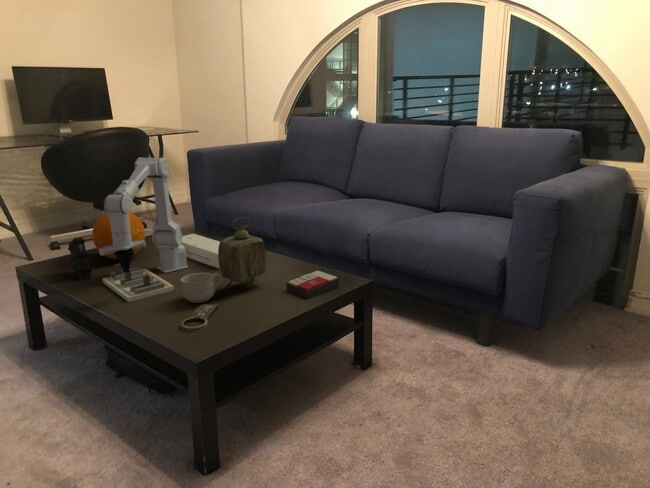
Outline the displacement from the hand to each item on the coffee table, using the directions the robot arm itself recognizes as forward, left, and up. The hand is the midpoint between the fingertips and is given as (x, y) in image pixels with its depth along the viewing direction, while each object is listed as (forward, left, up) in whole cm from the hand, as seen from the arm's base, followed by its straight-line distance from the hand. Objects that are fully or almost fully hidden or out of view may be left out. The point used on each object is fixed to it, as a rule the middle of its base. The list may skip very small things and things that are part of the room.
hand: (126, 271), depth 179 cm
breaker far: (-4, -18, -8) cm, 20 cm away
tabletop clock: (-35, +17, -10) cm, 40 cm away
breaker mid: (-3, -9, -8) cm, 12 cm away
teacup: (-19, +17, -10) cm, 27 cm away
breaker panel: (-7, -9, -9) cm, 15 cm away
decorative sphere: (-15, -45, -10) cm, 48 cm away
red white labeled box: (-51, +34, -10) cm, 62 cm away
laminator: (-42, -23, -10) cm, 49 cm away
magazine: (+4, -35, -10) cm, 37 cm away
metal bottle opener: (-11, +30, -10) cm, 34 cm away
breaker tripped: (-6, 0, -8) cm, 10 cm away
